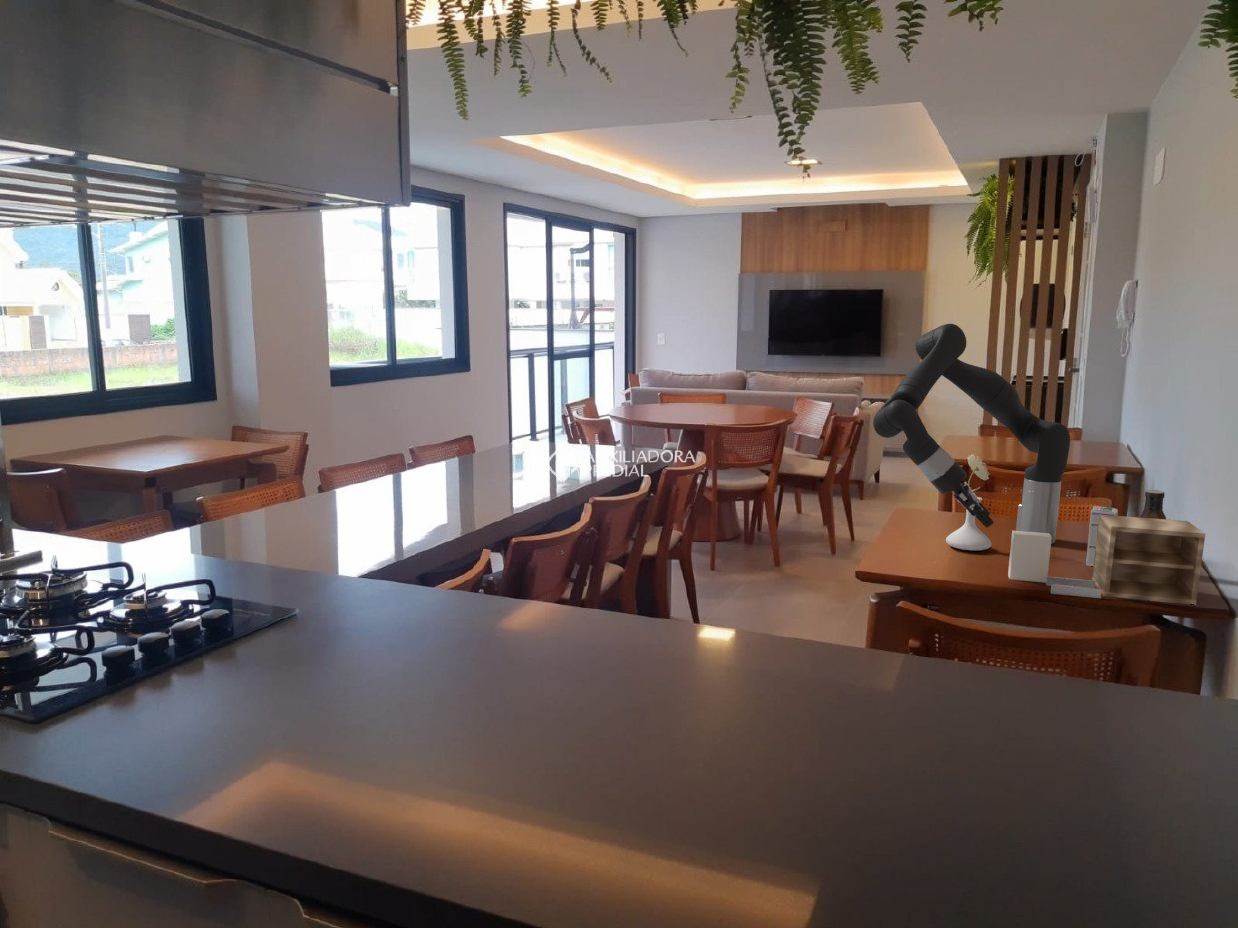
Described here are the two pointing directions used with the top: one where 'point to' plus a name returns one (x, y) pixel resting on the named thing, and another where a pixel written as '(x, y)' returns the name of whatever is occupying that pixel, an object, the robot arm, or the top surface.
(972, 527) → the flower in vase
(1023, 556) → the white rectangular block
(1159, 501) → the sauce bottle
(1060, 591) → the grey slotted stand
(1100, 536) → the carcass
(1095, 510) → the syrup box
